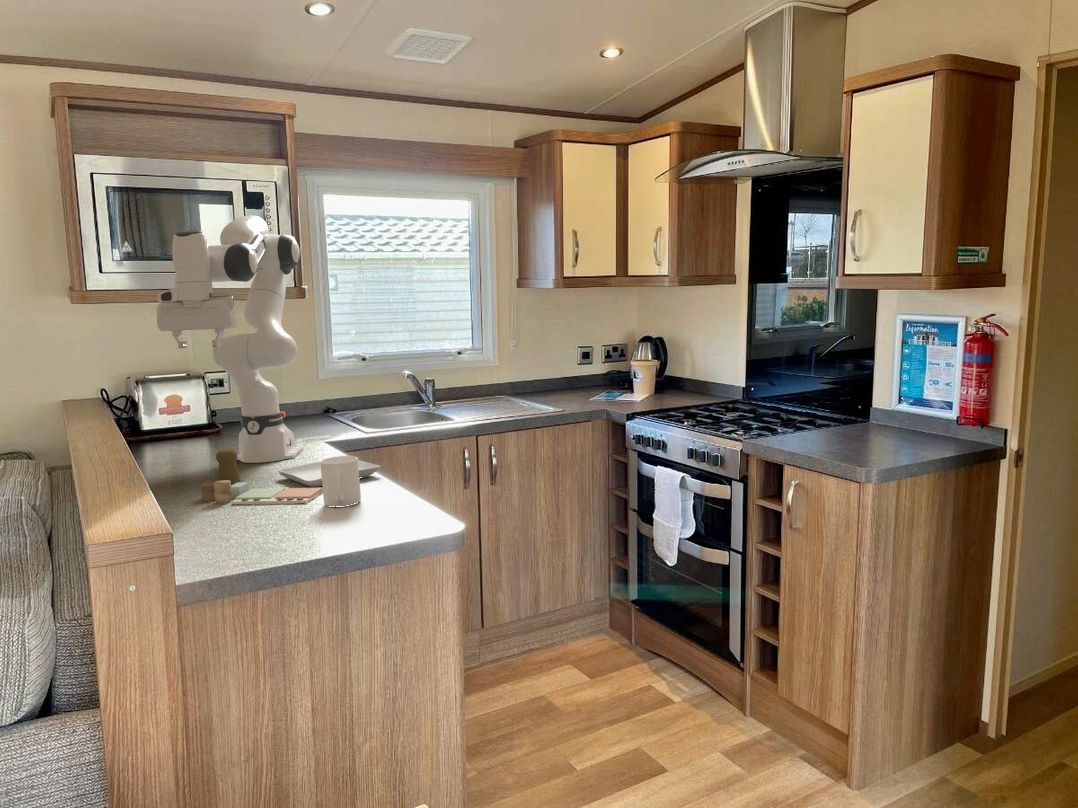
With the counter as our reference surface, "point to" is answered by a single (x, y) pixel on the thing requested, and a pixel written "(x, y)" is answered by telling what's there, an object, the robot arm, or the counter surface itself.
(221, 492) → the cork stopper
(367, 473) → the salad plate
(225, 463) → the pepper shaker
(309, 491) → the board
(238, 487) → the soap box
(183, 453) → the counter surface
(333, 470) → the mug
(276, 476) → the counter surface
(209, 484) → the walnut cube
